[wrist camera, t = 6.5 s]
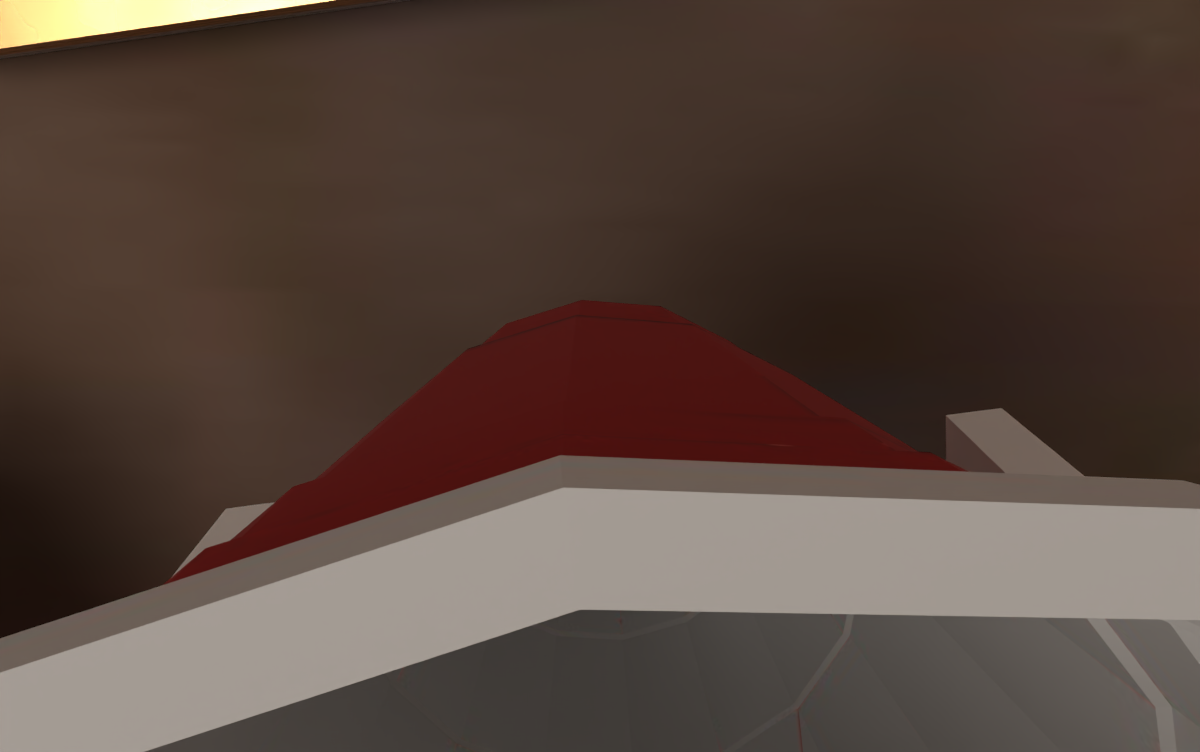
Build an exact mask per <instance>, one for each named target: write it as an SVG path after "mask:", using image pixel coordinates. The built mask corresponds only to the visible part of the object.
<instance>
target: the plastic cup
mask: <svg viewBox="0 0 1200 752" xmlns="http://www.w3.org/2000/svg"><path fill="white" fill-rule="evenodd" d="M0 752H1200V485H1199V484H1195V483H1191V482H1187V481H1183V480H1161V479H1137V478H1112V477H1087V476H1062V475H1037V474H1012V473H987V472H969V471H967V470H965V469H963V468H961V467H959V466H957V465H955V464H953V463H951V462H948V461H946V460H944V459H942V458H940V457H938V456H936V455H934V454H932V453H930V452H918V451H916V450H915V449H913V448H911V447H910V446H908V445H906V444H905V443H903V442H902V441H900V440H898V439H897V438H895V437H893V436H892V435H890V434H888V433H887V432H885V431H884V430H882V429H880V428H879V427H877V426H875V425H874V424H872V423H870V422H869V421H867V420H865V419H864V418H862V417H861V416H859V415H857V414H856V413H854V412H852V411H851V410H849V409H847V408H846V407H844V406H842V405H841V404H839V403H838V402H836V401H834V400H833V399H831V398H829V397H828V396H826V395H824V394H823V393H821V392H819V391H818V390H816V389H815V388H813V387H811V386H810V385H808V384H806V383H805V382H803V381H801V380H800V379H798V378H797V377H795V376H793V375H792V374H790V373H788V372H786V371H784V370H782V369H780V368H778V367H776V366H774V365H772V364H770V363H768V362H766V361H764V360H762V359H760V358H758V357H756V356H754V355H752V354H750V353H748V352H746V351H744V350H742V349H741V348H739V347H737V346H735V345H734V344H733V343H731V342H730V341H728V340H726V339H724V338H722V337H720V336H718V335H716V334H714V333H712V332H710V331H708V330H706V329H704V328H702V327H700V326H698V325H696V324H694V323H692V322H690V321H688V320H686V319H684V318H683V317H681V316H679V315H677V314H675V313H673V312H671V311H669V310H667V309H665V308H663V307H661V306H649V305H637V304H624V303H611V302H598V301H586V300H580V301H577V302H574V303H571V304H568V305H565V306H561V307H558V308H555V309H552V310H549V311H545V312H542V313H539V314H536V315H533V316H529V317H526V318H523V319H520V320H517V321H514V322H510V323H507V324H506V325H504V326H503V327H502V328H501V329H500V330H498V331H497V332H496V333H495V334H494V335H492V336H491V337H490V338H489V339H488V340H486V341H485V342H484V343H483V344H482V345H478V346H475V347H472V348H469V349H467V350H466V351H465V352H464V353H462V354H461V355H460V356H459V357H458V358H456V359H455V360H454V361H453V362H452V363H450V364H449V365H448V366H447V367H446V368H444V369H443V370H442V371H441V372H440V373H439V374H437V375H436V376H435V377H434V378H433V379H431V380H430V381H429V382H428V383H427V384H425V385H424V386H423V387H422V388H421V389H420V390H418V391H417V392H416V393H415V394H414V395H412V396H411V397H410V398H409V399H408V400H406V401H405V402H404V403H403V404H402V405H401V406H399V407H398V408H397V409H396V410H395V411H393V412H392V413H391V414H390V415H389V416H387V417H386V418H385V419H384V420H383V421H382V422H381V423H379V424H378V425H377V426H376V427H375V428H374V429H373V430H371V431H370V432H369V433H368V434H367V435H366V436H365V437H363V438H362V439H361V440H360V441H359V442H358V443H357V444H355V445H354V446H353V447H352V448H351V449H350V450H349V451H347V452H346V453H345V454H344V455H343V456H342V457H341V458H339V459H338V460H337V461H336V462H335V463H334V464H333V465H331V466H330V467H329V468H328V469H327V470H326V471H325V472H323V473H322V474H321V475H320V476H319V477H318V478H317V479H315V480H313V481H310V482H307V483H303V484H300V485H297V486H294V487H292V488H291V489H290V490H289V491H288V492H286V493H285V494H284V495H283V496H282V497H281V498H279V499H278V500H277V501H276V502H275V503H273V504H272V505H271V506H270V507H269V508H268V509H266V510H265V511H264V512H263V513H262V514H261V515H259V516H258V517H257V518H256V519H255V520H253V521H252V522H251V523H250V524H249V525H248V526H246V527H245V528H244V529H243V530H242V531H241V532H239V533H238V534H237V535H236V536H235V537H234V538H232V539H231V540H230V541H227V542H223V543H220V544H217V545H214V546H211V547H208V548H205V549H204V550H203V551H202V552H200V553H199V554H198V555H197V556H196V557H195V558H193V559H192V560H191V561H190V562H189V563H188V564H186V565H185V566H184V567H183V568H182V569H181V570H179V571H178V572H177V573H176V574H175V575H174V576H172V577H171V578H170V579H169V580H168V581H167V582H165V583H164V584H163V585H162V586H159V587H156V588H153V589H150V590H147V591H144V592H140V593H137V594H134V595H131V596H128V597H125V598H122V599H119V600H116V601H113V602H110V603H107V604H104V605H101V606H98V607H95V608H92V609H89V610H85V611H82V612H79V613H76V614H73V615H70V616H67V617H64V618H61V619H58V620H55V621H52V622H49V623H46V624H43V625H40V626H37V627H34V628H30V629H27V630H24V631H21V632H18V633H15V634H12V635H9V636H6V637H3V638H0Z"/></svg>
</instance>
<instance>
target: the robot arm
mask: <svg viewBox="0 0 1200 752" xmlns="http://www.w3.org/2000/svg"><path fill="white" fill-rule="evenodd" d="M946 461H948V462H951V463H953V464H955V465H957V466H959V467H961V468H963V469H965V470H967V471H969V472H987V473H1012V474H1037V475H1062V476H1084V475H1082V474H1081V473H1080V472H1079V471H1078V470H1076V469H1075V468H1074V467H1073V466H1071V465H1070V464H1069V463H1068V462H1067V461H1065V460H1064V459H1063V458H1062V457H1060V456H1059V455H1058V454H1057V453H1056V452H1054V451H1053V450H1052V449H1051V448H1050V447H1048V446H1047V445H1046V444H1045V443H1043V442H1042V441H1041V440H1040V439H1039V438H1037V437H1036V436H1035V435H1034V434H1032V433H1031V432H1030V431H1029V430H1028V429H1026V428H1025V427H1024V426H1023V425H1021V424H1020V423H1019V422H1018V421H1017V420H1015V419H1014V418H1013V417H1012V416H1010V415H1009V414H1008V413H1007V412H1006V411H1004V410H1003V409H1002V408H998V409H990V410H982V411H975V412H967V413H959V414H952V415H946ZM274 503H275V502H274ZM272 504H273V503H266V504H259V505H251V506H243V507H236V508H228V509H225V511H224V512H223V513H222V514H221V516H220V517H219V518H218V519H217V521H216V522H215V523H214V525H213V526H212V527H211V528H210V530H209V531H208V532H207V533H206V535H205V536H204V537H203V538H202V540H201V541H200V542H199V543H198V545H197V546H196V547H195V548H194V550H193V551H192V552H191V553H190V555H189V556H188V557H187V558H186V560H185V561H184V562H183V563H182V565H181V566H180V567H179V568H178V570H177V571H176V572H175V573H174V575H175V574H176V573H177V572H178V571H179V570H181V569H182V568H183V567H184V566H185V565H186V564H188V563H189V562H190V561H191V560H192V559H193V558H195V557H196V556H197V555H198V554H199V553H200V552H202V551H203V550H204V549H205V548H208V547H211V546H214V545H217V544H220V543H223V542H227V541H230V540H231V539H232V538H234V537H235V536H236V535H237V534H238V533H239V532H241V531H242V530H243V529H244V528H245V527H246V526H248V525H249V524H250V523H251V522H252V521H253V520H255V519H256V518H257V517H258V516H259V515H261V514H262V513H263V512H264V511H265V510H266V509H268V508H269V507H270V506H271V505H272ZM174 575H173V576H174Z"/></svg>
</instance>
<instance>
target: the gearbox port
mask: <svg viewBox="0 0 1200 752" xmlns="http://www.w3.org/2000/svg"><path fill="white" fill-rule="evenodd" d="M401 1H408V0H0V59H5V58H12V57H19V56H26V55H33V54H40V53H47V52H54V51H61V50H68V49H74V48H81V47H88V46H95V45H102V44H109V43H116V42H123V41H130V40H137V39H144V38H151V37H158V36H165V35H172V34H179V33H186V32H192V31H199V30H206V29H213V28H220V27H227V26H234V25H241V24H248V23H255V22H262V21H269V20H276V19H283V18H290V17H297V16H303V15H310V14H317V13H324V12H331V11H338V10H345V9H352V8H359V7H366V6H373V5H380V4H387V3H394V2H401Z"/></svg>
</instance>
